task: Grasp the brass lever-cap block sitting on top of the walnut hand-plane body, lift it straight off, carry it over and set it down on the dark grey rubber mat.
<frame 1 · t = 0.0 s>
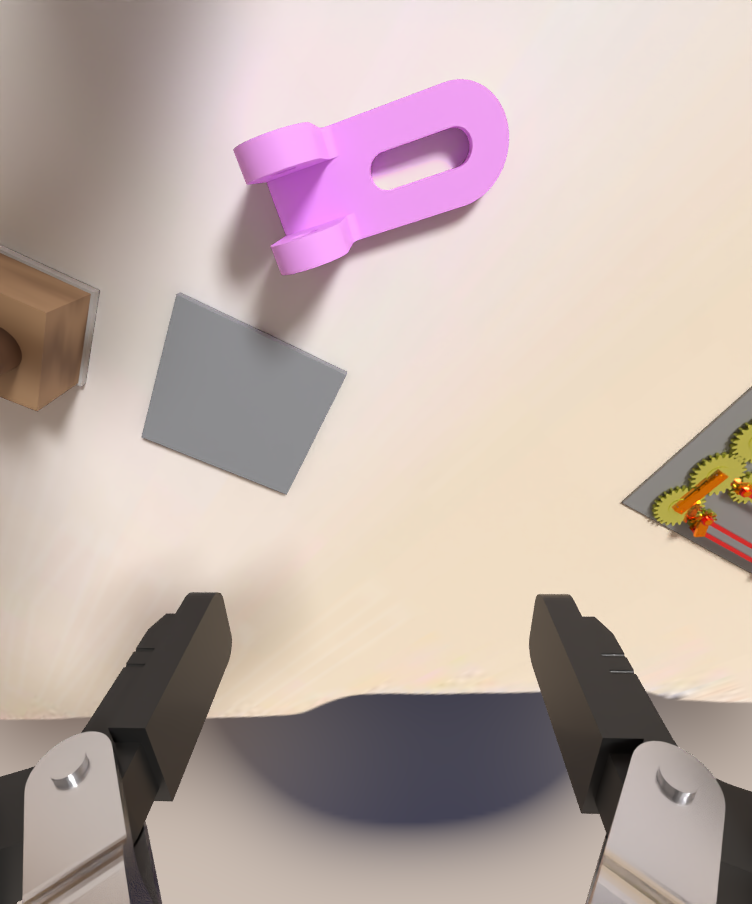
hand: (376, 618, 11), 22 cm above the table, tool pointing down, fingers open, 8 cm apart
bracket: (387, 171, 25), on the table
mat: (241, 404, 33), on the table
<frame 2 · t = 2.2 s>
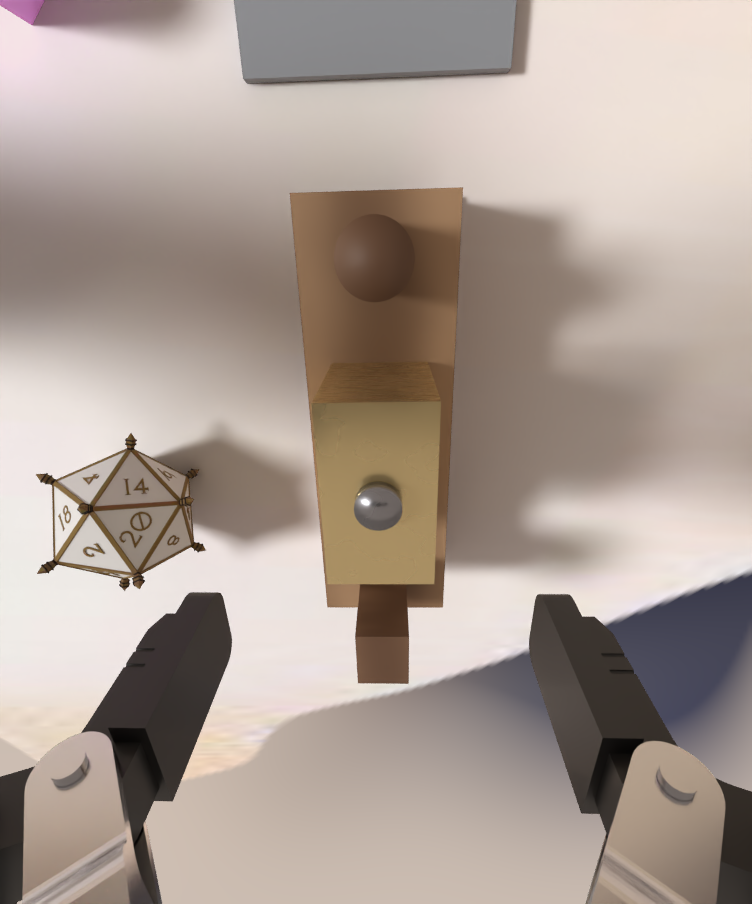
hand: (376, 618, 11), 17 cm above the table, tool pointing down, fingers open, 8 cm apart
game die: (160, 481, 30), on the table
lever cap: (381, 440, 23), point 5 cm above the table, touching plane body
plane body: (382, 408, 27), on the table
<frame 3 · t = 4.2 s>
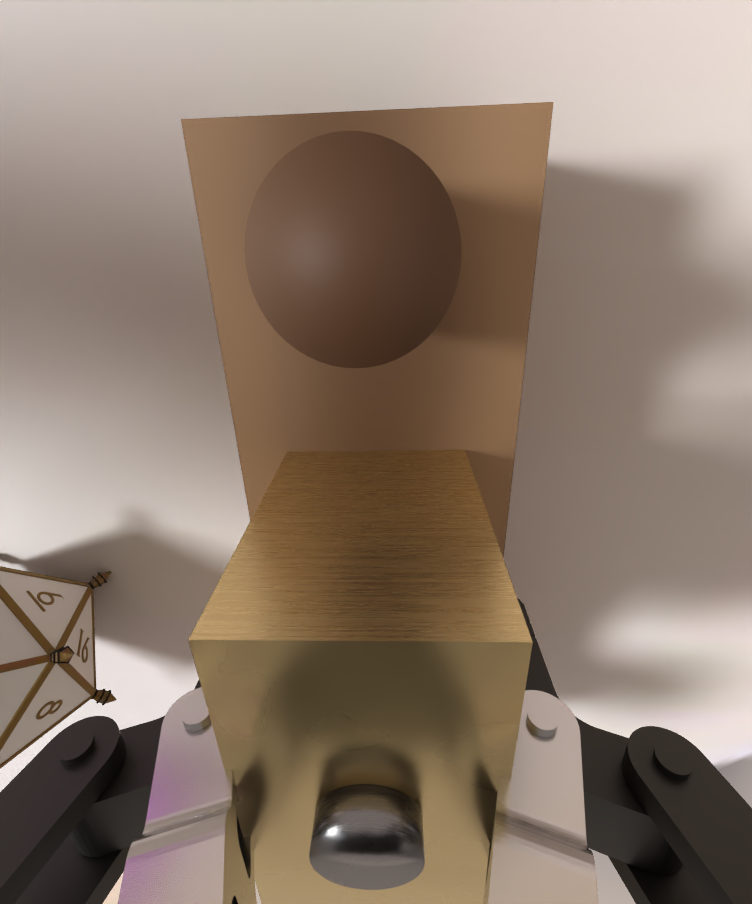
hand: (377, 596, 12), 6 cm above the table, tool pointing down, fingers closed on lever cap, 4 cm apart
game die: (58, 585, 20), on the table
lever cap: (379, 576, 13), point 5 cm above the table, touching gripper, plane body
plane body: (383, 490, 17), on the table
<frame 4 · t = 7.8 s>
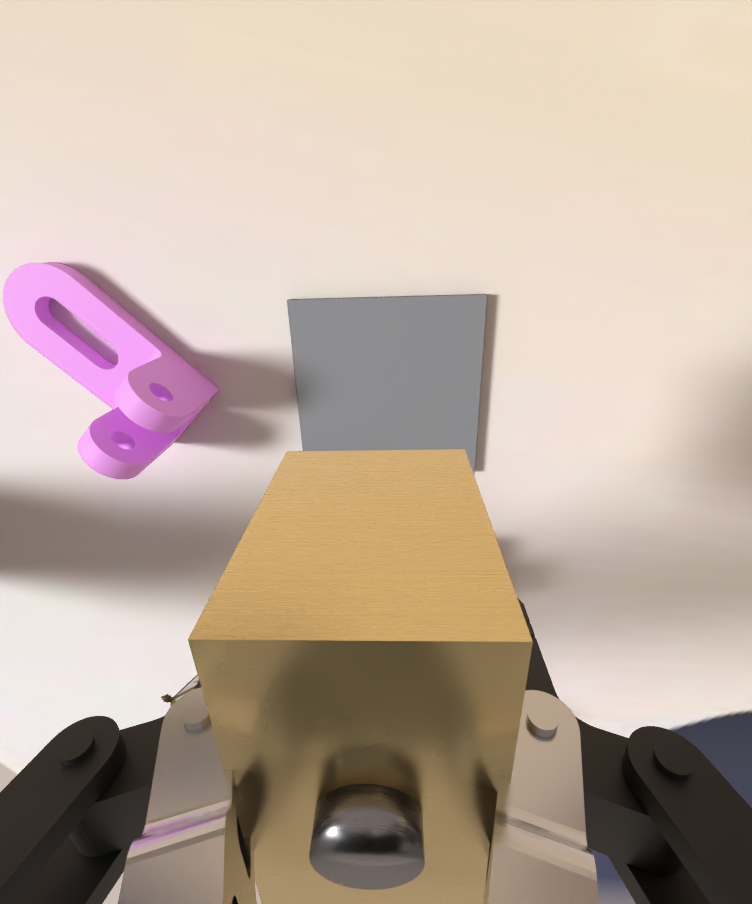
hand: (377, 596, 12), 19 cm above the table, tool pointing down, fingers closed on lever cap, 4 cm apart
bracket: (117, 349, 30), on the table
lever cap: (379, 576, 13), point 19 cm above the table, touching gripper
mat: (387, 391, 30), on the table
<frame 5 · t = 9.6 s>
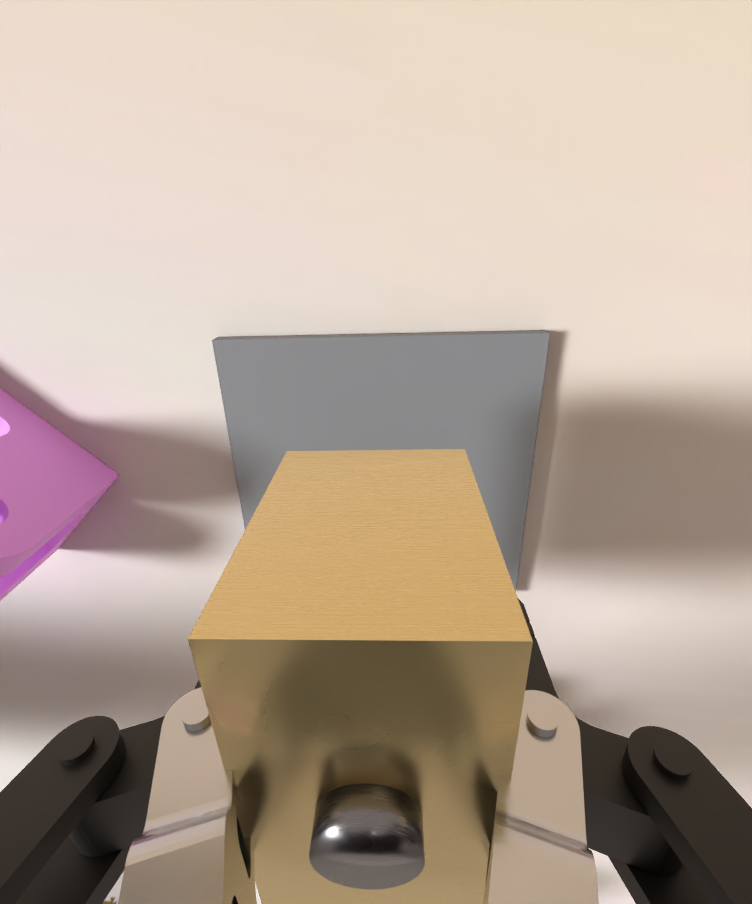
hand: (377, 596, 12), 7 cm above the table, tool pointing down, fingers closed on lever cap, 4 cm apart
lever cap: (379, 575, 13), point 6 cm above the table, touching gripper
mat: (382, 478, 19), on the table
when the fingers open (3 cm above the table, at t = 11.4 s): lever cap drops 2 cm, resting on mat.
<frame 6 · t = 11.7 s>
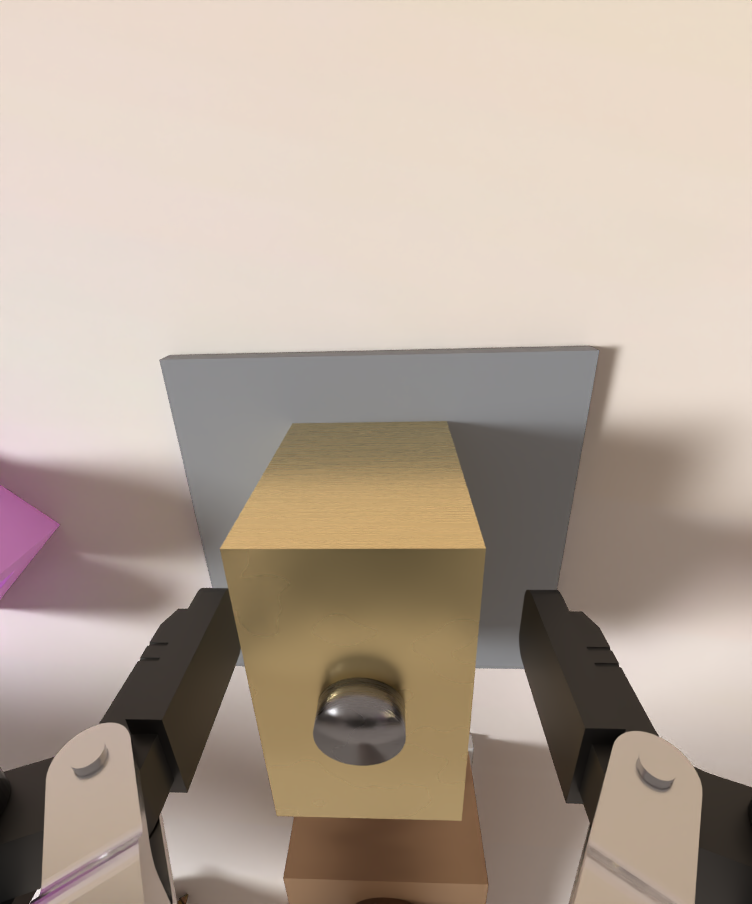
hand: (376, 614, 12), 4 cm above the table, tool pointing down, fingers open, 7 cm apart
game die: (147, 895, 27), on the table
lever cap: (373, 536, 15), point 1 cm above the table, touching mat
mat: (380, 527, 15), on the table
plane body: (390, 865, 24), on the table
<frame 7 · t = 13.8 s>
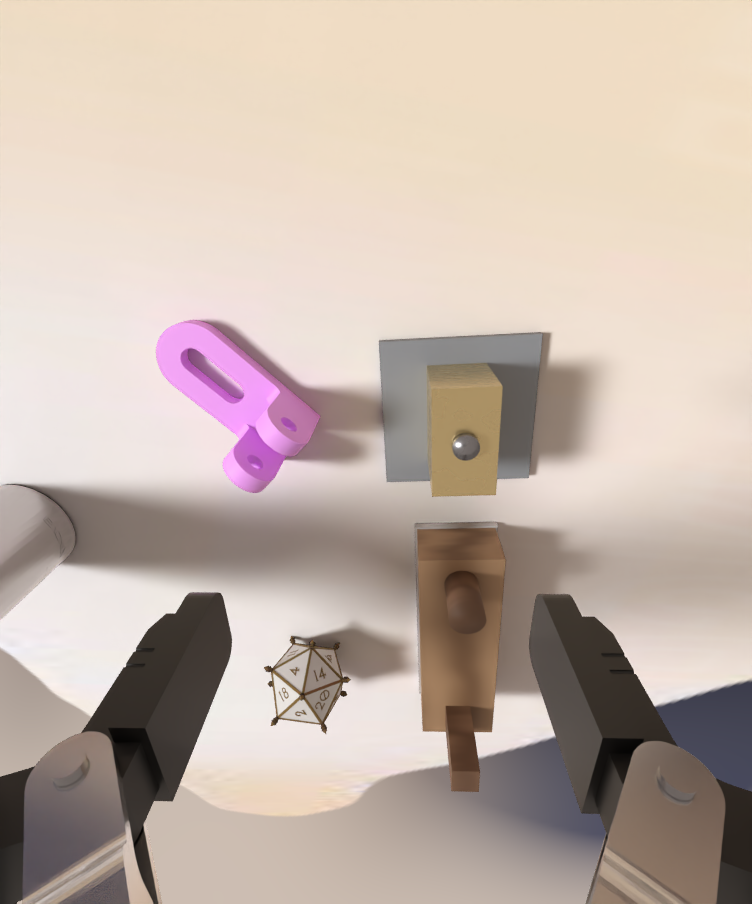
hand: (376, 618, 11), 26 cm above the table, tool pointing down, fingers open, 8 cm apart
bracket: (238, 386, 36), on the table
game die: (314, 647, 49), on the table
lever cap: (455, 413, 36), point 1 cm above the table, touching mat
mat: (457, 411, 36), on the table
plane body: (453, 614, 45), on the table
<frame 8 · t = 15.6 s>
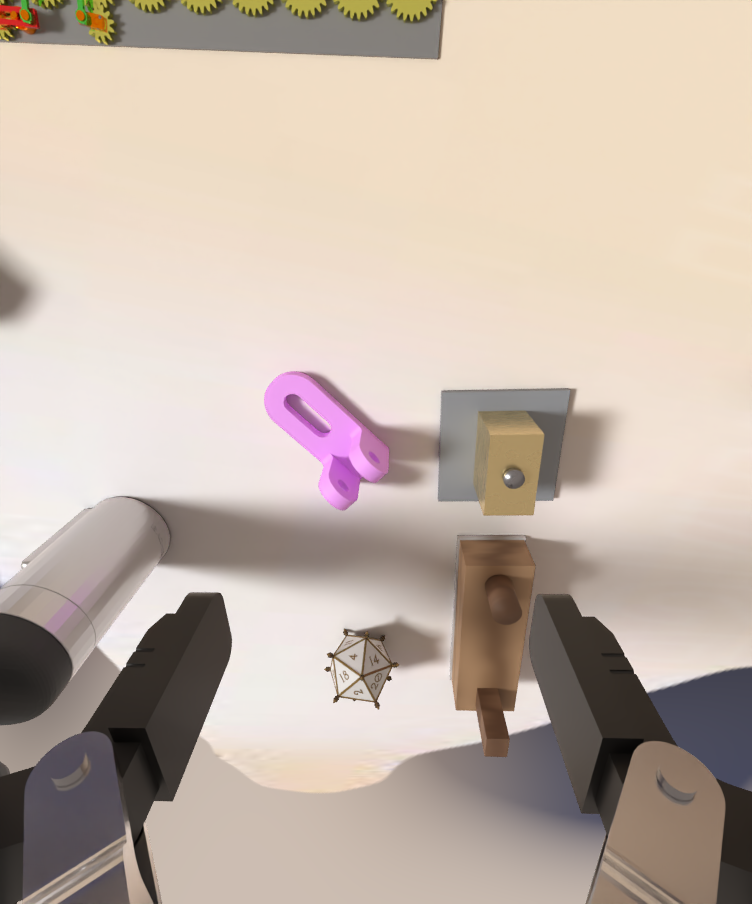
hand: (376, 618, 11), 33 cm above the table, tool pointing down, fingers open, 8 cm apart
bracket: (324, 423, 45), on the table
game die: (362, 639, 57), on the table
lever cap: (498, 448, 45), point 1 cm above the table, touching mat
mat: (499, 446, 45), on the table
plane body: (483, 611, 54), on the table
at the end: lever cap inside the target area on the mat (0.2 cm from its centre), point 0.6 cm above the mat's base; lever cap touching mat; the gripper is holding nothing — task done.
